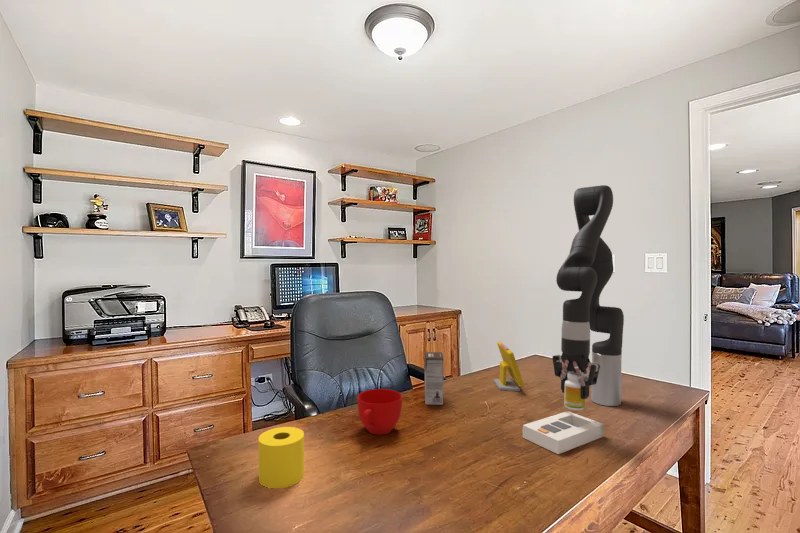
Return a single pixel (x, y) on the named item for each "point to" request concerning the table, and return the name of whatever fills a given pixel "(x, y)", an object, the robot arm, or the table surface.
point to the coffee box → (434, 378)
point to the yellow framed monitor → (508, 370)
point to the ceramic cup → (379, 410)
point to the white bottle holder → (563, 431)
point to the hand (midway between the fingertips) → (574, 395)
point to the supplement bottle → (573, 392)
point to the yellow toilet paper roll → (281, 457)
